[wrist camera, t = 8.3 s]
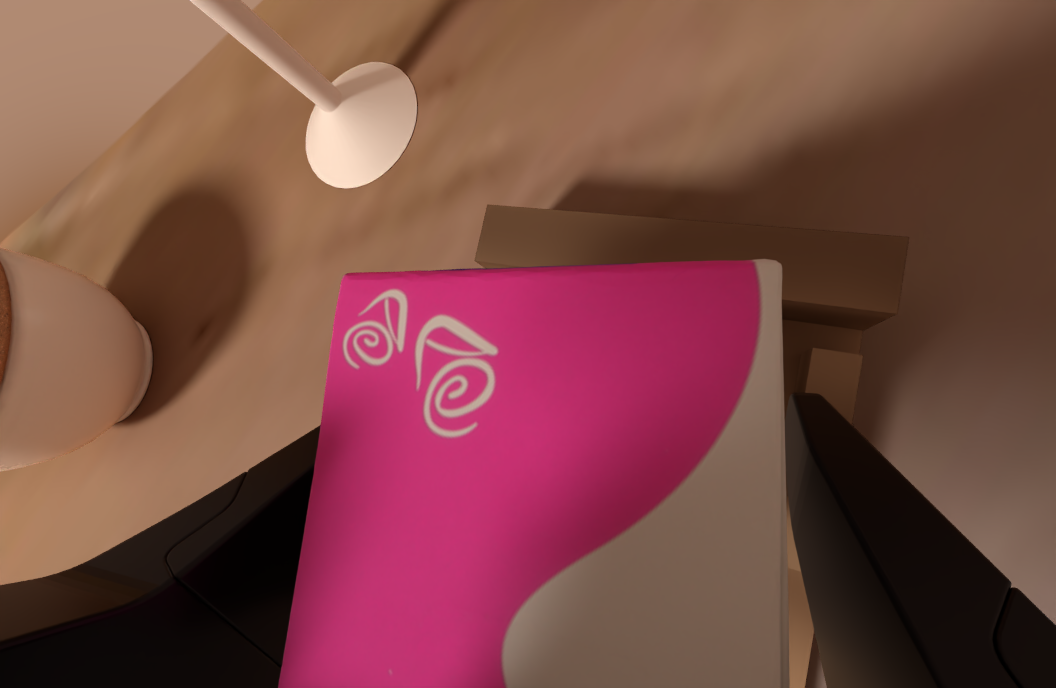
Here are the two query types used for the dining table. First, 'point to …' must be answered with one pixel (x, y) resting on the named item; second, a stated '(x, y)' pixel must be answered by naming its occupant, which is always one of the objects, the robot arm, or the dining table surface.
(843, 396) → the click board
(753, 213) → the dining table surface
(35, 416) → the lidded jar
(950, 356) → the dining table surface
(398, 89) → the champagne flute
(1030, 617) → the robot arm
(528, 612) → the supplement box
